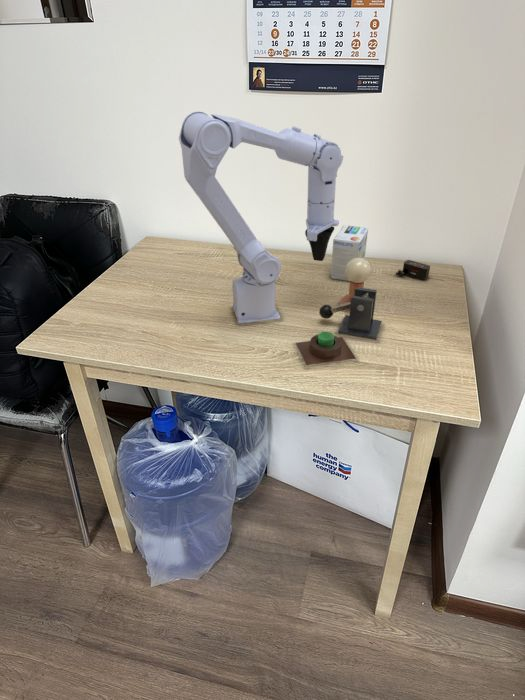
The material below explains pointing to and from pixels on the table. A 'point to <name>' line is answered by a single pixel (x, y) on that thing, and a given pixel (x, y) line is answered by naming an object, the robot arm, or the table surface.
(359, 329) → the switch bracket
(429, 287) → the table surface
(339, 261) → the light bulb box
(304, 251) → the table surface
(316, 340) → the button block
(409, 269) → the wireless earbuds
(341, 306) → the switch lever
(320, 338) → the light button
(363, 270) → the globe lamp
